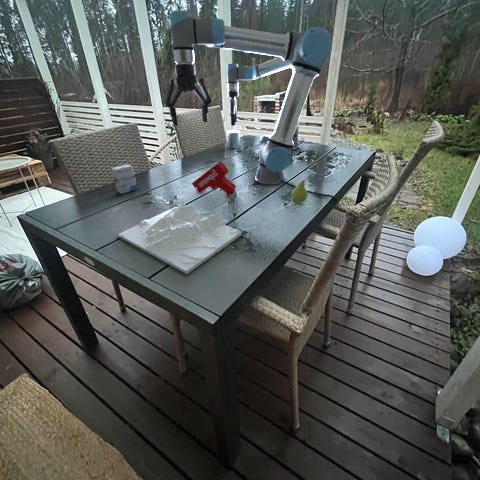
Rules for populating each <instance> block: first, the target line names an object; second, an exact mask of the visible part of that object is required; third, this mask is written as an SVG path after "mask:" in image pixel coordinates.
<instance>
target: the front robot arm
mask: <svg viewBox="0 0 480 480" xmlns="http://www.w3.org/2000/svg"><path fill="white" fill-rule="evenodd" d="M169 23H170V24H169V25H170V26H169V27H170V35H171V43H172V52H173V60H174V63H176V64H175V65H174V67H175V68H174V70H175V76H176V78H175V79H174V78H169V79H168V87H167V91H166V94H165V97H164V102H163V106H164V107H167V108H168V110H169V116H170V117H172V125H173V126H178V118H177V116H178V115H177V109H176V107H175V105H176V104H177V102H178V100H179V98H180V96H181V95H182V94H183V92H184V93H186V92H193V93H194V94H195V96H196V97H197V98H198V99H199V101H200V102H201V103H202V104H201V117H202V123H203V122H204V123H207V122H208V117H207V116H208V115H207V114H208V113H209V105H210V104H212V102H213V101H212V98H211V96H210V94H209V91H208V90H207V87H206V86H205V81H204V78H203V77H198V78H196V66H195V64H194V63H195V51H194V45H195V46H196V45H197V46H198V45H200V46H201V45H202V46H206V47H207V48H216V49H225V50H232V51H238V52H244V53H253V54H259V55H265V56H273V57H277V58H278V57H281V58H282V59H283V60H286V61H290V62H292V65H291V67H290V68H291V69H292V75H291V78H290V80H289V84H288V86H287V90H286V93H285V97H284V100H283V101H282V106H281V110H280V112H279V115H278V119H277V122H276V123H277V124H276V123H275V126H276V128H275V127H274V131H273V133H271V134H263V135H261V136H260V137H259V153H258V157H259V158H258V167H257V171H256V172H255V178H254V181H255V183H258V184H259V185H262V186H263V185H264V186H279V185H281V184H285V185H287V186H289V187H292V188H293V189H295V188H296V187H297V185H293V184H292V183H289V182H288V181H285V175H284V172H283V171H285V170H286V169H287V168H288V167H289V166H290V164H291V163H292V151H293V150H292V148H293V145H294V143H293V141H292V138H293V135H294V132H295V130H296V127H297V124H298V121H299V122H300V120H299V118H301V117H302V112H303V110H304V107H305V104H306V101H307V100H308V99H307V98H308V96H309V93H310V90H311V87H312V85H313V82H314V79H316V77H318V76H320V74H321V71H322V69H323V66H324V64H325V63H326V62H327V61H328V59H329V58H330V56H331V54H332V51H333V40H332V36H331V34H330V32H329V31H328V30H327V29H325V28H324V27H320V26H319V27H318V26H314V27H311V28H309V29H307V30H305V31H300V32H289V31H288V32H286V33H285V34H281V33H277V32H276V33H275V32H268V31H263V30H262V31H261V30H257V29H248V28H242V27H236V26H229V25H225V20H224V19H222V18H217V17H214V18H193V17H192V15H191V12H190V11H188V10H180V9H179V10H172V11H171V12H170V13H169ZM176 85H177V88H176V90H175V93H174V94H173V92H174V89H175V86H176ZM196 85H198V86H199V89H198V87H197V86H196ZM200 90H201V92H200ZM306 190H307V189H306ZM307 192H308V194H312V195H317V196H321V197H325V198H326V197H327V198H331V199H333V201H334V202H337V198H336V197H335V196H334V195H332V194H325V193H320V192H315V191H311V190H307Z"/></svg>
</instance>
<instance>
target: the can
mask: <svg viewBox="0 0 480 480" xmlns="http://www.w3.org/2000/svg"><path fill="white" fill-rule="evenodd" d="M240 147H241V131H240V130H237V129H232V130H231V129H230V130H227V148H229V149H239V148H240Z"/></svg>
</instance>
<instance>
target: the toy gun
mask: <svg viewBox="0 0 480 480" xmlns="http://www.w3.org/2000/svg"><path fill="white" fill-rule="evenodd" d="M228 173H229V169H228V168H227V166H226V165H225V164H224V163H223V162H222V161H219V162H217V163H216V164H214V166H212V167H211V168H210V169H209V170H207V171H206V172H204V173H203V174H202V175H201V176H199V177H198V178H197V179H196V180H194V181H193V182H192V183H191V184H192V186H193V187H194V189H195V190H196V191H197V193H199V194H201V193H203V192H204V191H205V190H207V189H208V188H210V189H211V190H213V191H215V190H216V189H218V188H219V189H220V190H222V191H223V192H224V193H225V194H226V196H227V197H229V196H230V195H233V194H235V192H236V188H237V186H236V184H235V183H233V182H232V181H230V180H229V179H228V178H227V177H226V175H227V174H228Z"/></svg>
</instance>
